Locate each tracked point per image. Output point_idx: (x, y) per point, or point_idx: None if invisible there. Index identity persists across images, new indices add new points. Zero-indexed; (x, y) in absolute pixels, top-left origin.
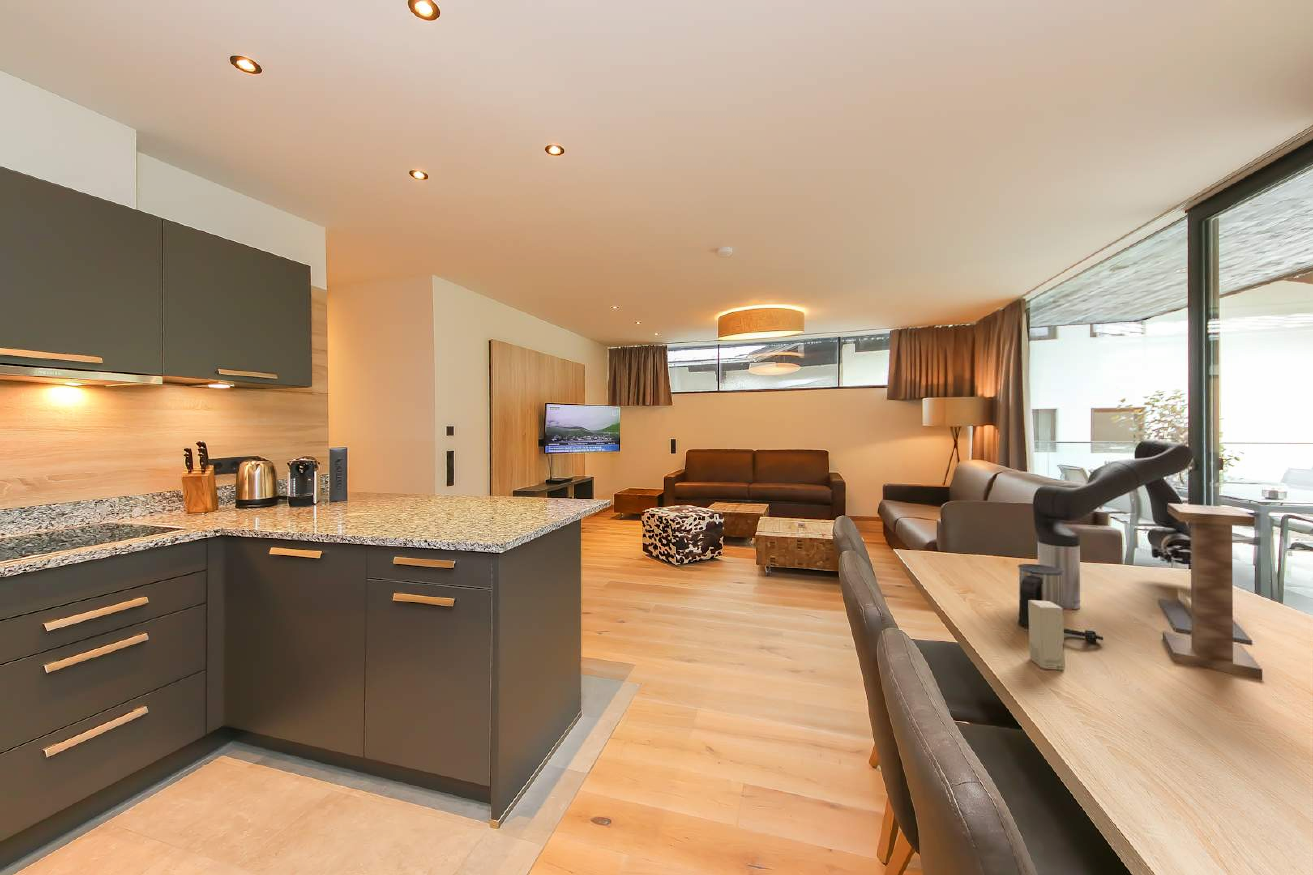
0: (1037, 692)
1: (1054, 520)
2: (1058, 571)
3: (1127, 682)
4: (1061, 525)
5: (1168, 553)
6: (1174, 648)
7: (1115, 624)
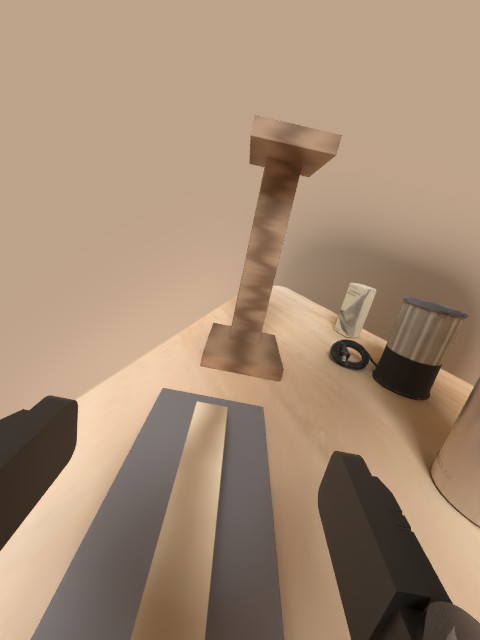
0: (333, 317)
1: None
2: (410, 300)
3: (299, 324)
4: None
5: (359, 464)
6: (273, 340)
7: (341, 414)
